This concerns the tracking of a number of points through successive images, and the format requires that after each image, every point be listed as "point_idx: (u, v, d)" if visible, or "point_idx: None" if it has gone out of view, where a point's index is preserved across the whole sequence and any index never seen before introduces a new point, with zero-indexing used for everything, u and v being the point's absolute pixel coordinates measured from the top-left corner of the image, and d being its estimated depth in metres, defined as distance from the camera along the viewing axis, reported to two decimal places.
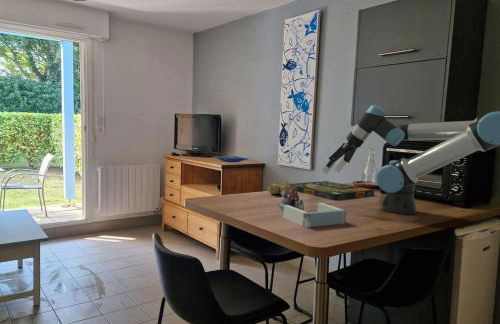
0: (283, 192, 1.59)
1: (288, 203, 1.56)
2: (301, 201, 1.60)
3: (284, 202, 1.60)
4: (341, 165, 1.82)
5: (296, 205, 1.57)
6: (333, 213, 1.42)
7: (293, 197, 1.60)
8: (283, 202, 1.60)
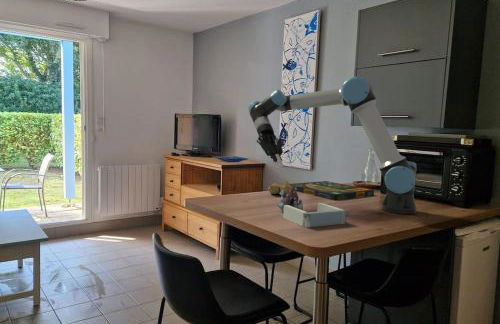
0: (282, 192, 1.60)
1: (287, 203, 1.57)
2: (300, 201, 1.61)
3: (283, 201, 1.61)
4: None
5: (295, 205, 1.57)
6: (333, 213, 1.42)
7: (292, 197, 1.60)
8: (282, 202, 1.61)
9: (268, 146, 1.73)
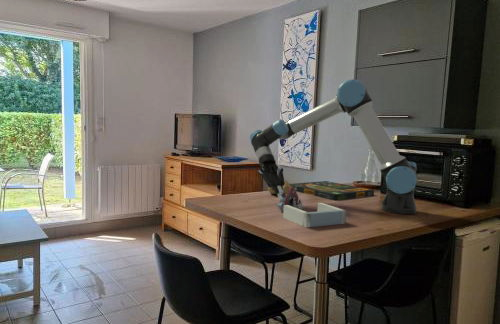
0: (281, 191, 1.60)
1: (286, 202, 1.57)
2: (299, 201, 1.61)
3: (282, 201, 1.61)
4: None
5: (294, 204, 1.57)
6: (333, 213, 1.42)
7: (291, 196, 1.61)
8: (281, 201, 1.61)
9: (270, 177, 1.72)
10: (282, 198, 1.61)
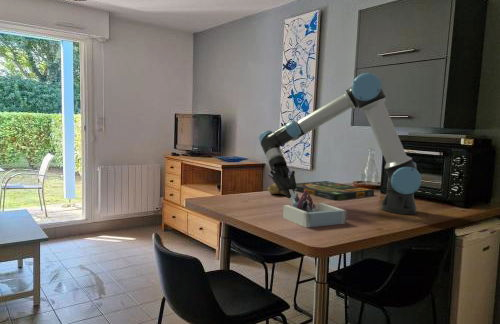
0: (294, 195, 1.53)
1: (299, 207, 1.50)
2: (314, 205, 1.53)
3: (295, 205, 1.53)
4: (291, 195, 1.59)
5: (307, 209, 1.49)
6: (333, 213, 1.42)
7: (305, 201, 1.53)
8: (295, 206, 1.54)
9: (281, 180, 1.63)
10: (295, 202, 1.53)
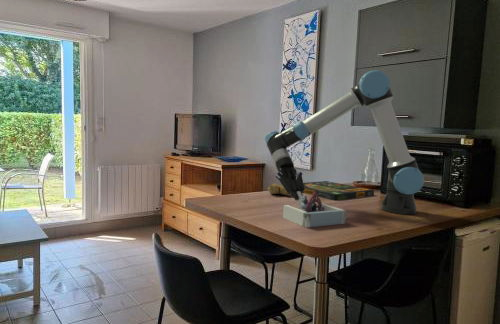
0: (303, 197, 1.49)
1: (308, 209, 1.46)
2: (323, 208, 1.49)
3: (304, 208, 1.50)
4: None
5: None
6: (333, 213, 1.42)
7: (314, 203, 1.49)
8: (303, 208, 1.50)
9: (288, 182, 1.59)
10: (304, 205, 1.50)
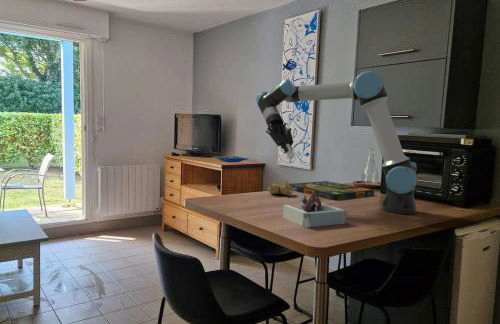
0: (302, 197, 1.50)
1: (306, 209, 1.47)
2: (322, 207, 1.50)
3: (303, 207, 1.50)
4: None
5: (315, 211, 1.46)
6: (333, 213, 1.42)
7: (313, 203, 1.50)
8: (302, 208, 1.51)
9: (278, 136, 1.69)
10: (303, 204, 1.50)
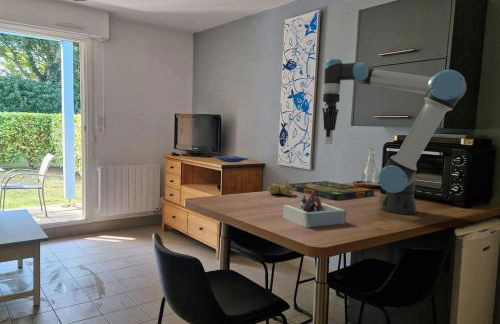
0: (302, 197, 1.50)
1: (306, 209, 1.47)
2: (322, 207, 1.50)
3: (303, 207, 1.51)
4: None
5: (314, 211, 1.47)
6: (333, 213, 1.42)
7: (313, 203, 1.50)
8: (302, 207, 1.51)
9: (328, 118, 1.75)
10: (303, 204, 1.51)
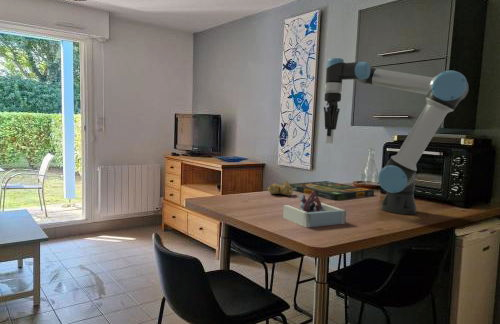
0: (301, 197, 1.51)
1: (305, 208, 1.47)
2: (321, 207, 1.50)
3: (302, 207, 1.51)
4: None
5: (314, 211, 1.47)
6: (333, 213, 1.42)
7: (312, 202, 1.50)
8: (302, 207, 1.51)
9: None
10: (302, 204, 1.51)
